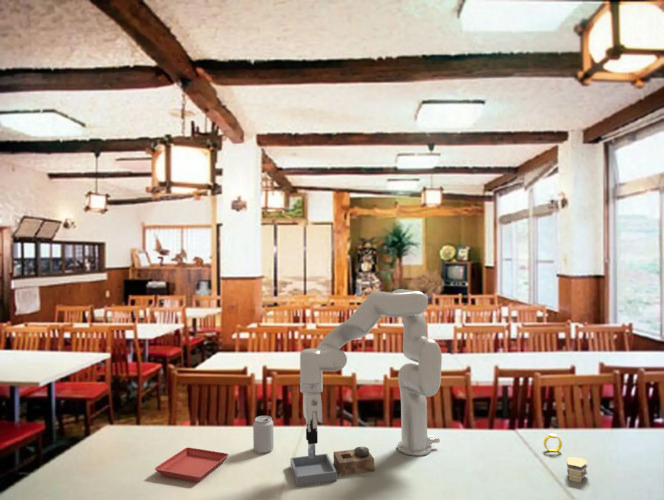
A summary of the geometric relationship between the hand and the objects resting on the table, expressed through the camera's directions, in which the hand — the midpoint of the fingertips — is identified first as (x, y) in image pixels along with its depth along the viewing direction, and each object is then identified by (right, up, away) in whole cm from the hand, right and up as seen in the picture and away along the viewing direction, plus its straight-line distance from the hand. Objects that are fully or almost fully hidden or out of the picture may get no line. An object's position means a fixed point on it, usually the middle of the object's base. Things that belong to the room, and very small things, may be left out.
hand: (311, 441), depth 153 cm
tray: (0, -11, 0) cm, 11 cm away
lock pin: (0, -5, 0) cm, 5 cm away
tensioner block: (+14, -11, +4) cm, 18 cm away
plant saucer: (-41, -12, +5) cm, 43 cm away
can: (-19, -12, +19) cm, 29 cm away
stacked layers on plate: (+86, -10, -5) cm, 87 cm away
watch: (+88, -10, +14) cm, 90 cm away
